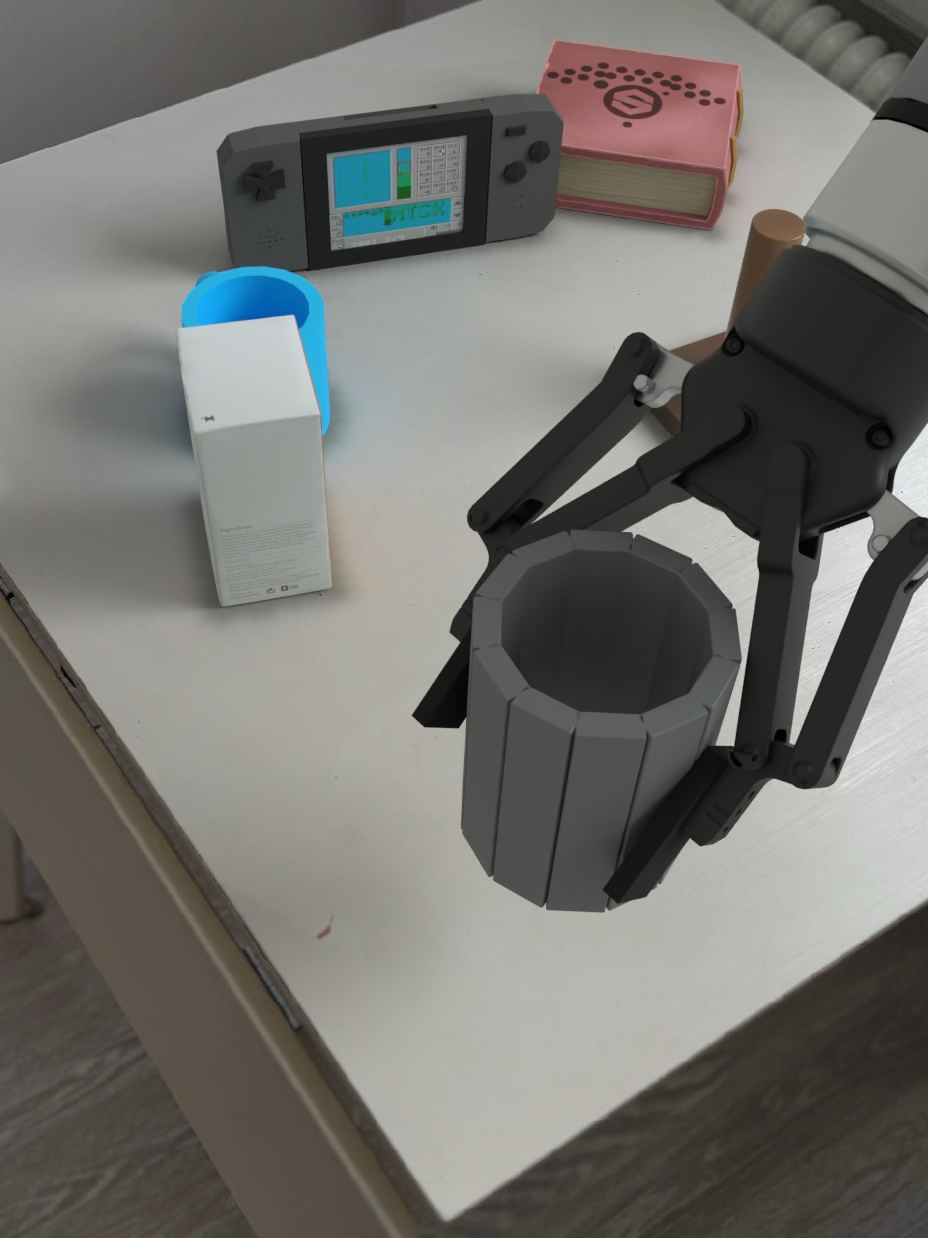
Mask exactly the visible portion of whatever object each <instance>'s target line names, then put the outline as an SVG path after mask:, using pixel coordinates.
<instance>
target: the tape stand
mask: <svg viewBox="0 0 928 1238" xmlns="http://www.w3.org/2000/svg"><path fill="white" fill-rule="evenodd" d="M805 235H806V233H805V232H804V225H803V218H802V217H800V216H799V215H797V214H795V213H794V212H791V211H788V210H785V209H781V208H768V209H764V210H760V211H758V212H757V213H756V214H755V215H754V216H753V217H752V219H751V222H750V227H749V231H748V235H747V239H746V243H745V247H744V253H743V257H742V262H741V266H740V270H739V274H738V278H737V284H736V288H735V292H734V296H733V299H732V305H731V310H730V312H729V318H728V322H727V326H726V329H725V331H722V332H720V333H719V332H718V333H717V334H714V335H711V336H708V337H705V338H702V339H699V340H695V341H693V342H690V343H687V344H685V345H681V346H678V347H676V348H673V349H669V351H670V352H671V353H672V354H674V355H676V356H678V357H680V358H682V359H684V360H686V361H688V362H690V363H692V364H693V365H695V364H696V363H697V362H699V361H701V360H703V359H704V358H706V357H708V356H709V355H711V354H712V353H713V352H715V351H716V350H717V349H718V348H719V347H720V346H721V345H722V343H723V342H724V340H725V338H726V337H727V335H728V333H729V331H730V328H731V326H732V324H733V322H734V321H735V319H736V317H737V316H738V314H739V313H740V311H741V310H742V309H743V307H744V306H745V304H746V303H747V301H748V300H749V298H750V297H751V295H752V294H753V292H754V291H755V289H756V288H757V286H758V285H759V284H760V282H761V281H762V279H763V278H764V276H765V275H766V273H767V272H768V270H769V269H770V267H771V266H772V264H773V263H774V261H775V260H776V258H777V257H778V256H779V254H780V253H781V251H782V250H783V249H784V248H788V249H790V248H791V247H792V246H793V245H797V244H798V245H803V242H804V238H805ZM649 412H651V413H652V414H653V416H655V418H656V419H657V420H658V421H659V422H660V423H661V424H662V425H663V427H664V428H665V429H666V430H667V431H668V432H669V434H671V435H672V437H674V436H676V435H678V434H679V433H680V420H681V393H679V394H676V395H674V396H673V397H671V398H670V400H669V401H668V402H667V403H666V404H664V405H663V406H661V407H658V408H651V409H650V411H649Z"/></svg>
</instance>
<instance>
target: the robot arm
mask: <svg viewBox="0 0 928 1238" xmlns="http://www.w3.org/2000/svg"><path fill="white" fill-rule="evenodd" d="M802 220H803V225H804V232H805V235H806V236H807V237H808V239H809V240H808V242H807V243H806V245H803V244H802V245H798V244H797V245H793V246H792V247H791V248H790V249H788V248H784V249H783V250H782V251H781V253H780V254H779V256H778V257H777V258H776V260H775V261H774V263H773V264H772V266H771V267H770V269H769V270H768V272H767V273H766V275H765V276H764V278H763V279H762V281H761V282H760V284H759V285H758V286H757V288H756V289H755V291H754V292H753V294H752V295H751V297H750V298H749V300H748V301H747V303H746V304H745V306H744V307H743V309H742V310H741V311H740V313H739V314H738V316H737V317H736V319H735V321H734V322H733V324H732V326H731V328H730V331H729V333H728V335H727V337H726V338H725V340H724V342H723V343H722V345H721V346H720V347H719V348H718V349H717V350H716V351H715V352H713V353H712V354H711V355H709V356H708V357H706V358H704V359H703V360H701V361H699V362H697V363H696V364H695V365H693V364H692V363H690V362H688V361H686V360H684V359H682V358H680V357H678V356H676V355H674V354H672V353H671V352H670V350H668V349H667V348H666V347H665V346H663V345H662V344H661V343H659V342H657V340H654V339H653V338H651V337H650V336H649V335H648V334H646V333H644V332H640V331H635V332H631V333H630V334H629V335H627V336H626V337H625V339H624V340H623V341H622V343H621V345H620V346H619V348H618V350H617V352H616V354H615V356H614V357H613V359H612V361H611V363H610V365H609V366H608V368H607V370H606V372H605V374H604V375H603V377H602V379H601V381H599V383H598V384H597V385H596V386H595V387H594V388H593V389H592V390H590V392H589V393H588V394H586V396H584V397H583V398H582V399H581V401H579V402H578V403H577V404H576V405H575V406H574V407H573V408H572V409H571V410H570V411H568V413H567V414H566V415H565V416H563V417H562V419H561V420H559V422H558V423H556V425H554V426H553V427H552V428H551V429H550V430H549V431H548V432H547V433H546V434H545V435H543V437H542V438H541V439H540V440H539V441H538V442H537V443H535V444H534V446H532V447H531V448H530V449H529V450H528V451H527V452H526V453H524V455H523V456H522V457H521V458H520V459H519V460H518V461H517V462H516V463H515V464H514V465H513V466H511V468H509V470H507V471H506V472H505V474H504V473H503V475H502V476H501V477H500V478H499V479H498V480H497V481H496V482H495V483H493V485H492V486H491V487H489V489H487V491H485V492H484V494H482V496H480V497H479V498H478V499H477V500H476V501H475V502H474V503H473V504H472V505H471V506H470V507H469V509H468V511H467V514H466V522H467V525H468V528H469V529H470V530H472V531H473V532H476V533H477V534H478V535H479V538H480V539H481V541H482V543H483V545H484V546H485V549H486V550H487V555H488V561H487V566H486V567H485V569H484V571H483V573H482V574H481V575H480V577H479V579H478V580H477V582H476V583H475V585H474V586H473V588H472V589H471V590H470V592H469V594H468V595H467V598H466V599H465V600H464V602H463V603H462V604H461V607H460V608H458V610H457V611H456V613H455V615H454V616H453V618H452V620H451V624H450V628H449V632H448V633H449V634H450V635H451V636H453V638H455V639H456V640H457V641H458V642H459V643H458V644H457V646H456V647H455V650H454V651H453V652H452V654H451V655H450V657H449V658H448V660H447V661H446V663H445V664H444V666H443V667H442V669H441V670H440V672H439V673H438V675H437V676H436V678H435V679H434V681H433V682H432V684H431V686H430V687H429V688H428V690H427V692H426V693H425V694H424V696H423V697H422V699H421V700H420V702H419V704H418V705H417V707H416V708H415V709H414V711H413V713H412V714H411V717H412V718H413V719H414V720H416V722H418V723H419V724H420V725H421V726H422V727H423V728H426V729H427V728H429V729H430V728H431V729H456V730H457V729H460V728H461V726H462V725H463V723H464V722H465V721H466V716H467V699H468V682H469V665H470V648H471V632H472V615H473V598H474V597H475V594H476V592H477V590H478V589H479V588H480V587H481V586H482V584H483V583H484V582H485V581H486V580H487V578H488V577H489V576H490V575H491V574H492V572H493V571H494V570H495V569H496V567H497V566H498V565H499V564H500V563H501V561H502V560H503V559H504V558H505V557H506V555H507V554H508V553H510V554H512V551H513V550H515V549H518V548H521V547H523V546H526V545H529V544H531V543H534V542H537V541H539V540H542V539H544V538H547V537H550V536H552V535H555V534H558V533H560V532H563V531H567V533H568V534H569V535H570V531H571V530H594V531H616V532H625V530H627V529H629V528H631V527H634V525H636V524H638V523H641V522H642V521H643V520H645V519H648V518H649V517H651V516H653V515H654V514H656V513H658V512H660V511H662V510H663V509H665V508H667V507H669V506H671V505H675V504H679V503H683V502H686V501H689V500H690V499H692V498H694V499H695V500H696V501H699V502H700V503H702V504H704V505H706V506H708V507H710V508H712V509H714V510H717V511H718V512H721V513H724V515H725V516H726V517H727V518H728V520H729V521H730V522H731V524H732V525H733V526H734V527H735V528H737V529H738V530H739V531H741V532H742V533H744V534H745V535H747V536H748V537H750V538H751V539H752V540H755V541H757V542H758V549H757V556H756V566H757V570H758V581H757V587H756V592H755V593H756V594H755V601H754V607H753V615H752V621H751V628H750V635H749V642H748V648H747V655H746V662H745V669H744V675H743V682H742V688H741V694H740V695H741V696H740V703H739V708H738V715H737V723H736V728H735V737H734V743H733V745H716V746H715V745H708V746H707V747H706V749H705V750H704V751H703V753H702V754H701V755H700V757H699V758H698V760H697V761H696V762H695V764H694V765H693V766H692V768H691V769H690V770H689V772H688V773H687V775H686V776H685V777H684V779H683V780H682V781H681V783H680V784H679V785H678V787H677V788H676V790H675V791H674V792H673V794H672V795H671V796H670V798H669V799H668V801H667V802H666V803H665V805H664V806H663V807H662V809H661V810H660V811H659V813H658V814H657V816H656V817H655V818H654V820H653V821H652V822H651V824H650V825H649V827H648V828H647V829H646V831H645V832H644V833H643V835H642V836H641V837H640V839H639V840H638V842H637V843H636V844H635V846H634V847H633V848H632V850H631V851H630V852H629V854H628V855H627V857H626V858H625V859H624V861H623V862H622V863H621V865H620V866H619V868H618V869H617V870H616V872H615V873H614V874H613V876H612V877H611V878H610V880H609V881H608V883H607V884H606V885H605V887H604V888H603V889H602V890H603V891H604V892H605V893H606V894H607V895H608V896H609V897H611V898H612V899H613V900H614V901H615V902H616V903H617V904H620V903H624V902H627V903H629V902H632V901H636V900H640V899H645V898H647V897H648V896H649V894H651V892H652V891H653V890H654V889H653V887H654V886H655V885H656V883H657V882H658V881H659V879H660V878H661V877H662V875H663V874H664V873H665V871H666V870H667V869H668V867H669V866H670V865H671V863H672V862H673V860H674V859H675V858H676V856H677V855H678V854H680V853H681V851H682V850H683V849H684V847H685V846H686V845H687V843H688V842H689V840H691V841H693V842H694V843H695V844H696V845H697V846H699V847H705V846H711V845H714V844H716V843H719V841H721V840H723V839H725V838H726V837H727V836H728V835H729V833H730V832H731V831H732V829H733V828H734V827H735V825H736V824H737V823H738V821H739V820H740V819H741V817H742V816H743V815H744V813H745V812H746V811H747V810H748V808H749V807H750V805H751V804H752V802H753V801H754V800H755V799H756V797H758V795H759V793H760V792H761V791H762V790H763V788H764V787H765V786H766V785H767V784H768V783H769V782H770V781H772V780H777V781H780V782H783V783H787V784H790V785H792V786H793V787H795V788H796V789H800V790H813V789H824V788H829V787H831V786H833V785H834V784H836V782H837V781H838V779H839V777H840V774H841V772H842V770H843V768H844V765H845V763H846V761H847V757H848V755H849V753H850V750H851V747H852V745H853V743H854V741H855V738H856V736H857V733H858V731H859V729H860V725H861V724H862V721H863V719H864V716H865V713H866V711H867V709H868V706H869V705H870V702H871V699H872V697H873V694H874V692H875V690H876V687H877V685H878V683H879V679H880V677H881V676H882V673H883V670H884V667H885V665H886V663H887V660H888V658H889V655H890V653H891V650H892V649H893V646H894V643H895V641H896V639H897V636H898V633H899V631H900V628H901V626H902V624H903V621H904V618H905V616H906V614H907V612H908V609H909V606H910V604H911V603H912V599H913V597H914V594H916V592H917V591H918V590H919V588H921V586H922V585H923V584H924V583H925V582H926V581H927V580H928V517H925V516H920V515H919V514H918V513H917V512H915V511H914V510H913V509H912V508H911V507H909V506H908V505H907V504H906V503H904V502H903V501H902V500H900V499H899V498H898V497H896V495H894V494H893V493H894V486H895V485H894V484H895V477H896V473H897V470H898V468H899V465H900V463H901V461H902V459H903V458H904V456H905V455H906V453H907V452H908V451H909V450H910V448H911V447H912V446H913V444H915V441H916V440H917V439H918V437H919V436H920V435H921V433H922V432H923V430H924V429H925V428H926V426H927V425H928V35H927V36H926V38H925V39H924V41H922V44H921V45H920V47H919V48H918V50H917V51H916V53H915V55H914V56H913V58H911V60H910V62H909V63H908V64H907V66H906V68H905V69H904V71H903V72H902V74H901V75H900V76H899V78H898V80H897V81H896V83H895V84H894V86H893V87H892V89H891V90H890V92H889V93H888V95H887V96H886V98H884V100H883V102H882V104H881V106H880V107H879V108H878V110H877V112H876V113H875V114H874V116H873V117H872V119H871V120H870V122H869V124H868V125H867V126H866V127H865V129H864V131H862V133H861V135H860V136H859V137H858V139H857V140H856V142H855V143H854V145H853V146H852V147H851V149H850V150H849V152H848V153H847V155H846V156H845V158H843V160H842V162H841V163H840V165H839V166H838V168H837V169H836V170H835V172H834V173H833V175H832V176H831V177H830V179H829V180H828V181H827V183H826V184H825V186H824V187H823V188H822V190H821V191H820V193H819V194H818V196H817V197H816V198H815V200H814V201H813V203H812V204H811V206H810V207H809V208H808V210H807V211H806V212H805V214H804V215H803V216H802ZM679 393H681V420H680V433H679V434H678V435H676V436H672V437H670V438H669V439H668V440H665V441H664V442H662V443H660V444H659V445H657V446H655V447H653V448H651V449H650V450H648V451H646V452H645V453H642V455H640V456H638V458H636V461H635V463H634V464H633V465H632V466H630V467H628V468H627V469H625V470H623V471H621V472H620V473H618V474H616V475H614V476H612V477H611V478H608V479H607V480H606V481H604V482H602V483H600V484H599V485H597V486H595V487H593V488H592V489H590V490H588V491H586V492H585V493H583V494H581V495H579V496H578V497H576V498H574V499H572V500H571V501H569V502H567V503H566V504H564V505H562V506H560V507H558V508H557V509H555V510H553V511H551V512H550V513H548V514H546V515H544V516H542V515H543V514H544V513H545V512H546V511H547V510H548V509H549V508H550V507H551V506H552V505H554V504H555V503H556V502H557V501H558V500H559V499H560V498H561V497H562V496H564V495H565V493H566V492H567V491H569V490H570V489H571V488H572V487H573V486H574V485H575V484H576V483H577V482H578V481H579V480H580V479H582V477H584V475H586V474H587V473H588V472H589V471H590V470H591V469H592V468H593V467H594V466H595V465H597V464H598V463H599V461H601V460H602V459H603V458H604V457H605V456H606V455H607V454H608V453H609V452H610V451H612V450H613V448H615V447H616V446H617V445H618V444H619V443H620V442H621V441H622V440H623V439H624V438H626V436H628V435H629V434H630V433H631V432H632V431H633V430H634V429H635V428H636V427H637V426H638V425H639V424H640V423H641V422H642V421H643V419H645V417H646V416H648V413H649V412H651V411H650V409H651V408H658V407H661V406H663V405H664V404H666V403H667V402H668V401H669V400H670V398H671V397H673V396H674V395H676V394H679ZM541 516H542V517H541ZM540 517H541V518H540ZM538 518H539V519H538ZM867 518H871V520H872V524H873V528H872V533H871V534H870V536H869V539H868V541H867V544H866V548H867V549H866V550H867V553H868V557H870V558H871V559H872V562H871V564H870V565H869V566H868V569H866V571H865V573H864V575H863V577H862V579H861V582H860V583H859V586H858V588H857V590H856V593H855V594H854V597H853V600H852V603H851V605H850V608H849V610H848V613H847V615H846V617H845V620H844V623H843V625H842V628H841V630H840V632H839V635H838V637H837V640H836V642H835V645H834V647H833V650H832V652H831V654H830V657H829V659H828V662H827V664H826V666H825V669H824V672H823V674H822V676H821V678H820V682H819V683H818V687H817V689H816V691H815V694H814V696H813V699H812V701H811V703H810V706H809V709H808V711H807V714H806V716H805V718H804V721H803V724H802V725H801V728H800V731H799V733H798V736H797V739H796V740H795V743H790V741H791V736H792V726H793V720H794V715H795V707H796V700H797V696H798V695H797V693H798V686H799V680H800V673H801V668H802V660H803V653H804V646H805V639H806V632H807V626H808V618H809V614H810V613H809V611H810V605H811V599H812V592H813V587H814V584H815V582H816V580H817V579H818V575H819V571H820V566H821V565H820V564H821V558H822V550H823V543H824V538H825V534H826V533H829V532H832V531H835V530H838V529H840V528H843V527H846V526H848V525H851V524H853V523H857V522H860V521H862V520H864V519H867ZM679 852H680V853H679ZM678 856H679V855H678ZM678 856H677V857H678ZM676 859H677V858H676ZM652 889H653V890H652ZM628 901H629V902H628Z"/></svg>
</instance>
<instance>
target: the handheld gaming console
mask: <svg viewBox="0 0 928 1238" xmlns="http://www.w3.org/2000/svg"><path fill="white" fill-rule="evenodd" d="M563 126H564V121H563V118H562V116H561V115H560V113H559V111H558V110H557V108H556V107H555V105H554V104H553V103H552V102H551V100H550V99H549V98H548V97H547V95H546V94H536V93H511V94H503V95H495V96H487V97H479V98H472V99H463V100H456V101H448V102H440V103H432V104H425V105H418V106H417V105H415V106H407V107H400V108H391V109H385V110H384V109H383V110H376V111H368V112H361V113H353V114H346V115H336V116H329V117H321V118H320V117H319V118H313V119H305V120H298V121H289V122H282V123H274V124H266V125H258V126H257V125H256V126H253V127H249V128H246V129H241V130H236V131H233V132H230V133H227V135H226V136H225V138H224V139H223V140H222V142H221V144H220V145H219V146H218V148H217V149H216V158H217V159H216V160H217V167H218V174H219V182H220V189H221V197H222V203H223V214H224V222H225V224H224V225H225V234H226V243H227V250H228V251H227V252H228V254H229V257H230V261H231V264H232V265H233V266H235V267H236V268H241V267H263V266H264V267H270V268H276V269H282V270H286V271H289V272H292V271H299V270H305V269H309V271H316V270H317V271H318V270H324V269H325V270H326V269H331V268H338V267H344V266H351V265H358V264H364V263H370V262H377V261H384V260H385V261H386V260H391V259H398V258H404V257H411V256H418V255H425V254H431V253H432V254H433V253H438V252H445V251H451V250H457V249H464V248H470V247H477V246H478V247H479V246H485V244H486V243H490V242H497V241H503V240H509V239H510V240H511V239H517V238H522V237H526V236H530V235H534V234H538V233H542V232H544V230H545V229H546V228H547V227H548V226H549V224H551V222H552V221H553V220H554V219H555V214H556V207H555V206H556V196H557V186H558V176H559V166H560V156H561V146H562V136H563Z"/></svg>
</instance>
